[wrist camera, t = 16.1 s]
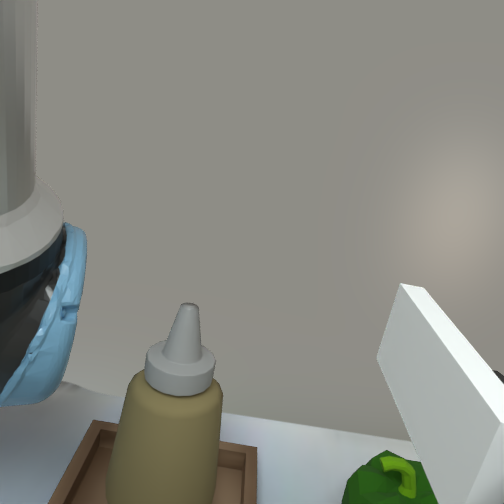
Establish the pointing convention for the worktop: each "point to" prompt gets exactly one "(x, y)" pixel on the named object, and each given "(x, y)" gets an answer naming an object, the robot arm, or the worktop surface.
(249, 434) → the worktop surface
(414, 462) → the bell pepper
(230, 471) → the walnut tray
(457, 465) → the robot arm
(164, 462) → the squeeze bottle
